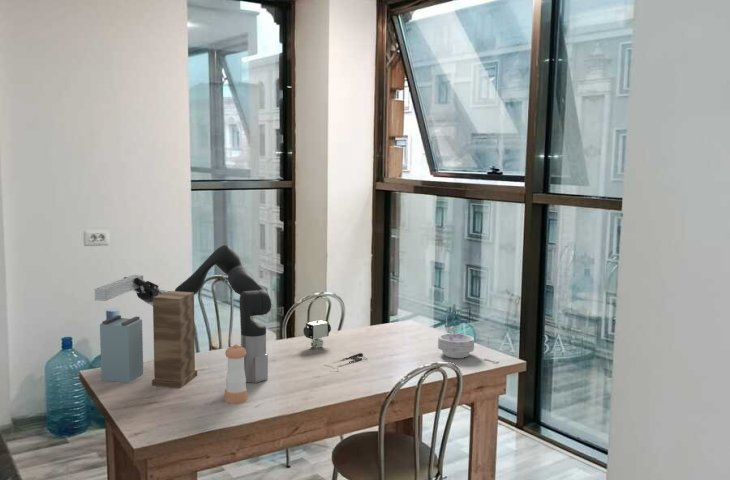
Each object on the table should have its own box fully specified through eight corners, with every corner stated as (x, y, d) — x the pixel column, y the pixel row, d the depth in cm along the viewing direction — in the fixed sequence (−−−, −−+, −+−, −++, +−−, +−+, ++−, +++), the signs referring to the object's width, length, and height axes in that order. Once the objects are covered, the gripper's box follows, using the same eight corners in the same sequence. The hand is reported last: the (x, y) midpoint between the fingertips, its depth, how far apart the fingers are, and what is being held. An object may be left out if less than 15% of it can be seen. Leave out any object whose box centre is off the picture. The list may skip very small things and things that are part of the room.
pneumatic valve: (331, 346, 291) (331, 319, 290) (309, 350, 284) (309, 323, 282) (323, 343, 295) (323, 316, 294) (301, 347, 288) (302, 320, 286)
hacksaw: (360, 355, 280) (361, 351, 280) (378, 361, 272) (378, 357, 272) (316, 367, 263) (316, 363, 263) (333, 373, 256) (333, 369, 256)
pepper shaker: (250, 397, 228) (250, 342, 226) (241, 404, 221) (241, 348, 219) (230, 394, 230) (230, 341, 227) (221, 402, 223) (221, 346, 220)
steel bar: (105, 301, 228) (105, 289, 228) (94, 300, 229) (94, 288, 228) (143, 285, 254) (143, 275, 253) (133, 285, 254) (133, 274, 254)
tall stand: (180, 388, 235) (179, 299, 231) (151, 385, 237) (150, 298, 233) (197, 375, 249) (196, 291, 245) (169, 373, 251) (168, 290, 247)
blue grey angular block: (129, 382, 240) (128, 323, 237) (101, 380, 241) (99, 321, 239) (143, 374, 249) (142, 316, 247) (116, 371, 251) (114, 315, 248)
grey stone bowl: (462, 349, 291) (463, 331, 290) (480, 359, 277) (481, 340, 276) (431, 351, 286) (432, 333, 285) (447, 362, 272) (448, 343, 271)
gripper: (135, 283, 266) (115, 269, 250) (169, 285, 264) (150, 271, 248) (131, 301, 263) (110, 288, 248) (165, 303, 261) (145, 290, 245)
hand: (130, 279), depth 248 cm, fingers closed on steel bar, 4 cm apart
